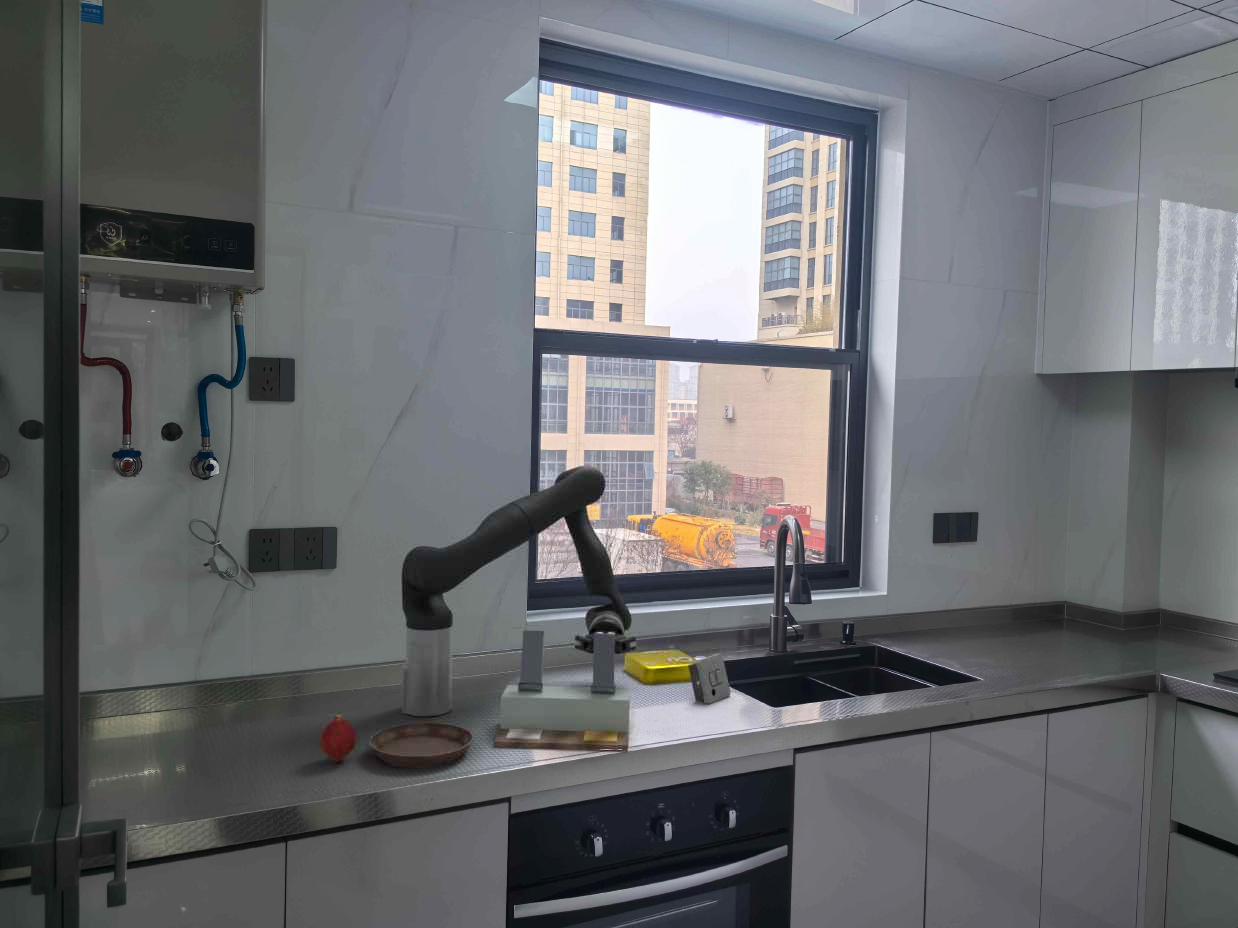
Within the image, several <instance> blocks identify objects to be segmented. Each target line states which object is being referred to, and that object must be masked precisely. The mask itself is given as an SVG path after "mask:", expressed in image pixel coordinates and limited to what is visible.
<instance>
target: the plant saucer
mask: <svg viewBox="0 0 1238 928" xmlns="http://www.w3.org/2000/svg"><path fill="white" fill-rule="evenodd" d="M473 740H474V735H473V733H472V732H471V731H470V730H469V729H466V728H465V727H461V726H459V725H456V724H455V725H454V724H449V723H441V722H415V723H414V722H412V723H405V724H399V725H395V726H391V727H387V728H385V729H382V730H378V731H376V732H375V733H374V734H373V735H372V736H371V737H370V739H369V741H368V742H369V745H370V747H371V749H372V751H373V752H374V754H375V755H377V757H378V758H379V759H380V760H381V761H382V762H384V763H386V764H388V765H390V766H394V767H400V768H406V769H407V768H409V769H422V768H423V769H425V768H431V767H437V766H442V765H446V764H449V763H451V762H454V761H456V760H458V759H459V758H460V757H461V756H462V755H463V754H464V753H465V752H466V751H467V749H468V748H469V747H470V745H471V743H472V742H473Z"/></svg>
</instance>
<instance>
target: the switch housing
mask: <svg viewBox="0 0 1238 928" xmlns="http://www.w3.org/2000/svg"><path fill="white" fill-rule="evenodd" d="M630 691H631V689H630V688H629V687H628V688H627V687H626V688H625V687H624V688H623V687H616V692H615V693H591V686H588V687H586V686H556V685H555V686H554V685H553V686H552V685H543V691H518V685H515V684H508V685H507V686H506V688H505V690H504V691H503V693H502V695H501V696H500V729H542V730H564V731H612V732H630V708H631V707H630V706H631V705H630V703H631V701H630V700H631V698H630V697H631V693H630Z"/></svg>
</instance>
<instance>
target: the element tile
mask: <svg viewBox="0 0 1238 928" xmlns="http://www.w3.org/2000/svg"><path fill="white" fill-rule="evenodd" d="M624 654H625V655H624V672H626V671H627V672H628V673H627V672H626V673H627V674H629V673H630V674H631V675H630V674H629V675H630V676H632V677H633V678H634V677H635V679H636V680H637V679H638V680H637V681H639V682H640V683H642V684H644V685H659V684H660V685H661V684H675V683H682V682H683V683H684V682H685V683H686V682H691V677H690V672H689V668H688V665H690V664H693V663H696V662H697V660H698V659H695V658H694V657H692V656H690V655H688V654H686V653H684V652H682V651H681V650H678V649H668V650H667V649H666V650H650V651H641V652H640V651H639V652H637V651H636V652H625V653H624ZM696 679H697V678H696Z"/></svg>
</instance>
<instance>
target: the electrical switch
mask: <svg viewBox="0 0 1238 928" xmlns="http://www.w3.org/2000/svg"><path fill="white" fill-rule="evenodd" d="M696 660H697V662H696V663H693V664H690V665H688V668H689V672H690V677H691V681H690V682H691V685H692V686H691V687H692V691H693V695H694V700H695V701H696V702H699V701H704V703H705V705H709V704H712V703H715V702H717V701H719V700H722V699H724V698H727V697H729V696H731V689H730V683H729V681H728V680H729V679H728V675H727V671H726V666H725V662H724V657H723V655H722V654H721V653H715V654H712V655H710V656H706V657H703V658H700V659H696ZM696 678H697V679H696Z"/></svg>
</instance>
